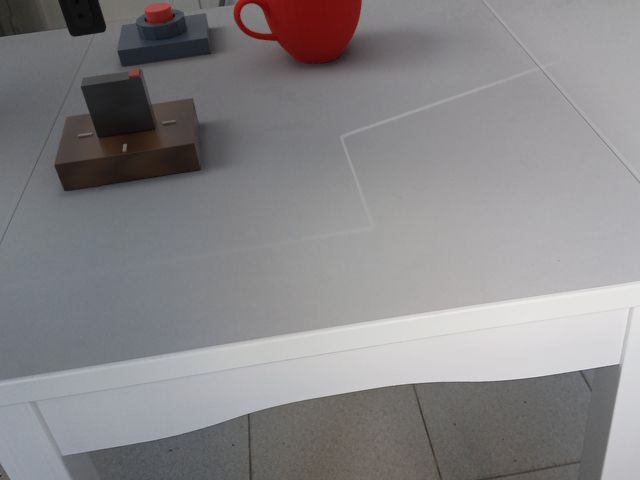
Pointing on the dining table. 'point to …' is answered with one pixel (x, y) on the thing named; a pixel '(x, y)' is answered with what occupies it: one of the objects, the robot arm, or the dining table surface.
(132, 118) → the pointer knob
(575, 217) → the dining table surface
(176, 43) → the button box
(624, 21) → the dining table surface
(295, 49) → the ceramic cup
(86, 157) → the dial panel
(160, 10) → the button
